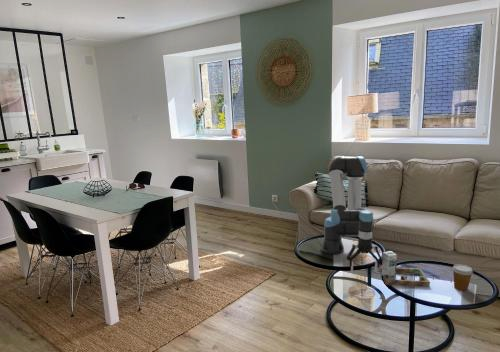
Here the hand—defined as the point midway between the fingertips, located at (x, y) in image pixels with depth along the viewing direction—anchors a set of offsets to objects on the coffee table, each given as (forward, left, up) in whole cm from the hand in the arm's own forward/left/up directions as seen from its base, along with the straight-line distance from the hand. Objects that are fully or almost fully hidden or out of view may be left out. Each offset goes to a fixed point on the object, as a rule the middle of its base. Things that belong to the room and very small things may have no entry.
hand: (363, 271), depth 215 cm
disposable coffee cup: (+49, -11, -2) cm, 50 cm away
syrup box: (+14, 0, -2) cm, 14 cm away
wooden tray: (+22, -3, -2) cm, 22 cm away
